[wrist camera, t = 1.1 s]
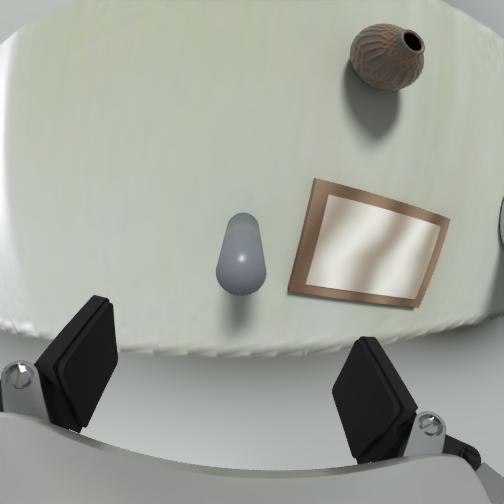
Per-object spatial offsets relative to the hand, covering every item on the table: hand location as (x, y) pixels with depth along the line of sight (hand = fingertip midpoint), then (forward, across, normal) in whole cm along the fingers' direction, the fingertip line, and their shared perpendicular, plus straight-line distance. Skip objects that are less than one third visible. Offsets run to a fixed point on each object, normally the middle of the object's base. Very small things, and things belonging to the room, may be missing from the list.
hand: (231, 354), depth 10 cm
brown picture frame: (+19, -15, 0) cm, 25 cm away
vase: (+20, -10, -20) cm, 30 cm away
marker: (+19, 0, 0) cm, 19 cm away
